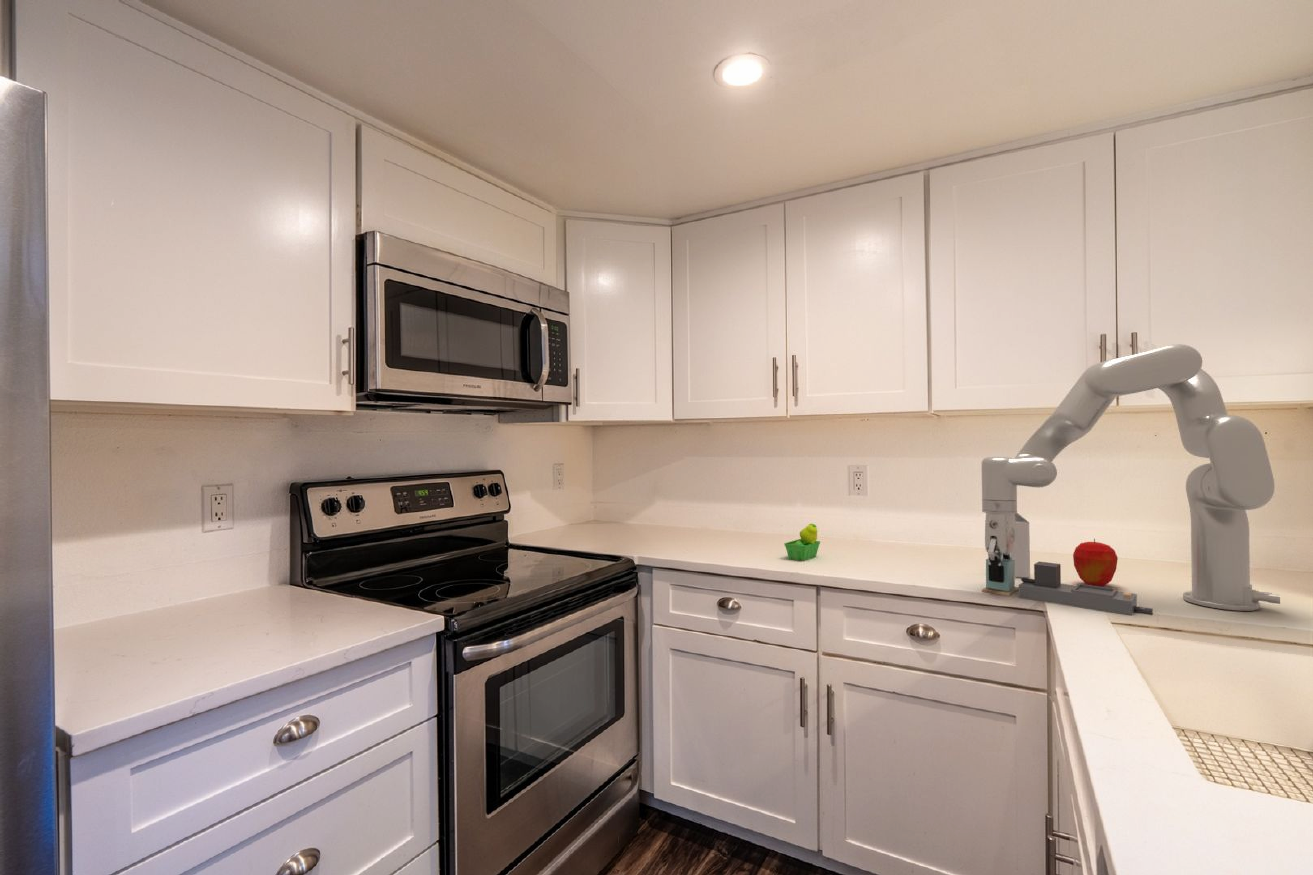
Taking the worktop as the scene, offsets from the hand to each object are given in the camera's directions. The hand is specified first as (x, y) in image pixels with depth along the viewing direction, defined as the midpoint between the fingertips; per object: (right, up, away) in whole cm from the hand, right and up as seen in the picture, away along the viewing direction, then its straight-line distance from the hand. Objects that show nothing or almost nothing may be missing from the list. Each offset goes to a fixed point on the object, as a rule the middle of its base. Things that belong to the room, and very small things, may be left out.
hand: (1000, 578), depth 147 cm
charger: (0, -2, 0) cm, 2 cm away
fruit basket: (-38, -4, +43) cm, 57 cm away
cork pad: (0, -3, 0) cm, 3 cm away
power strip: (+12, -3, -12) cm, 17 cm away
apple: (+26, -3, +4) cm, 27 cm away
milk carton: (+12, -3, +16) cm, 20 cm away
